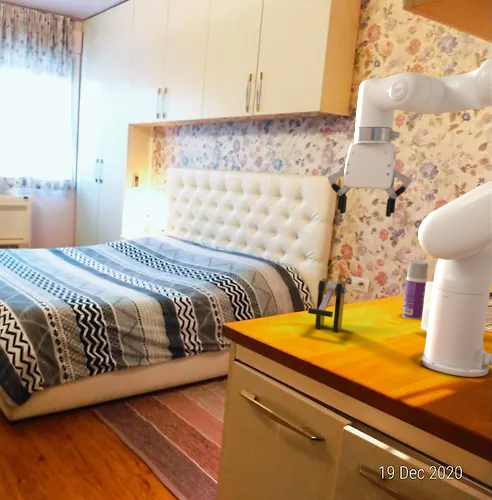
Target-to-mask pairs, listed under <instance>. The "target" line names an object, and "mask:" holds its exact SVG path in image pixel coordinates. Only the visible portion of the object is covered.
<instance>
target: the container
mask: <svg viewBox="0 0 492 500" xmlns="http://www.w3.org/2000/svg"><path fill="white" fill-rule="evenodd" d="M428 267H429V263H428V262H426V261H420V260H409V261H408V266H407V273H406V279H405V289H404V298H403V305H402V306H403V308H402V315H401V316H402V317H403V318H404V319H410V320H416V321H422V314H423V305H424V296H425V287H426V282H428V280H427V279H428Z"/></svg>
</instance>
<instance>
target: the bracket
mask: <svg viewBox="0 0 492 500" xmlns="http://www.w3.org/2000/svg"><path fill="white" fill-rule="evenodd" d="M328 281H329V278H328V277H327V278H326V277H323V278H322V279H320V280H319V281H318V284H317V301H316V309H319V307H320V305H321V303H322V301H323V299H324V297H325V295H326V285H327V283H328ZM346 283H347V280H340V281H339V282H338V283H337V292H336V296H335V302H334V303H335V304H334V312H333V324H332V333H335V334H338V333H339V332H340V330H341V329H342V325H343V315H344V305H345V295H346V293H347V287H346ZM325 318H326V316H321V315H315V325H314V329H315V330H321V329H322V328H323V327H324V325H325Z"/></svg>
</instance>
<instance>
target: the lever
mask: <svg viewBox="0 0 492 500" xmlns="http://www.w3.org/2000/svg"><path fill="white" fill-rule="evenodd" d="M337 283H339V282H338V281H334V280H328V283H327V285H326V295H325V297H324V299H323V301H322V303H321V305H320V307H319V309H317V308H312V307H308V309H307V313H308V314H310V315H315V316H316V315H321V316H325V317H328V318H334V311H330V310H327V308H328V305H329V303H330V301H331V299H332V298H333V297H334V298H336V292H337Z"/></svg>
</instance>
